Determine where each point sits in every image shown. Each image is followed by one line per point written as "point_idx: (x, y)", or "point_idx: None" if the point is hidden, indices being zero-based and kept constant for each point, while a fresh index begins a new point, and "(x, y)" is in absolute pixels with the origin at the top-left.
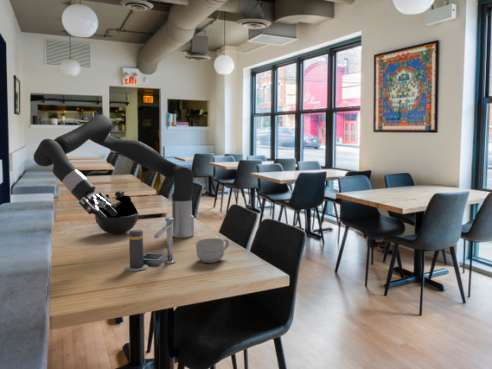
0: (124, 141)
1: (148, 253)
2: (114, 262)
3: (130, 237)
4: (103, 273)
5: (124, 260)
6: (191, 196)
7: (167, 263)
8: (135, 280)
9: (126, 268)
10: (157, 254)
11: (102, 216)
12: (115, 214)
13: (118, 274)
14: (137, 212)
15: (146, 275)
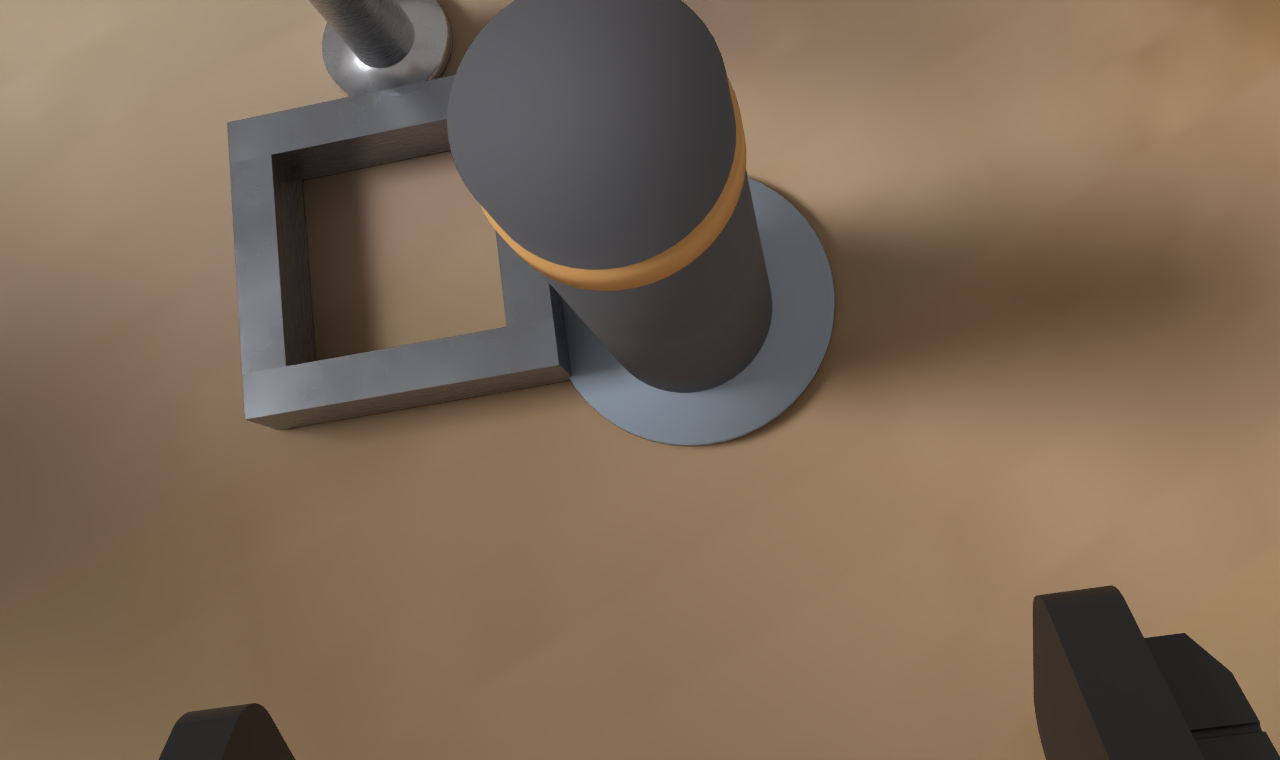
0: None
1: (274, 356)
2: (568, 724)
3: (734, 186)
4: (1035, 594)
5: (453, 637)
6: None
7: (451, 46)
8: (1122, 68)
9: (796, 388)
10: (279, 230)
11: (1219, 686)
12: (272, 738)
13: (1001, 381)
14: None
15: (917, 48)
